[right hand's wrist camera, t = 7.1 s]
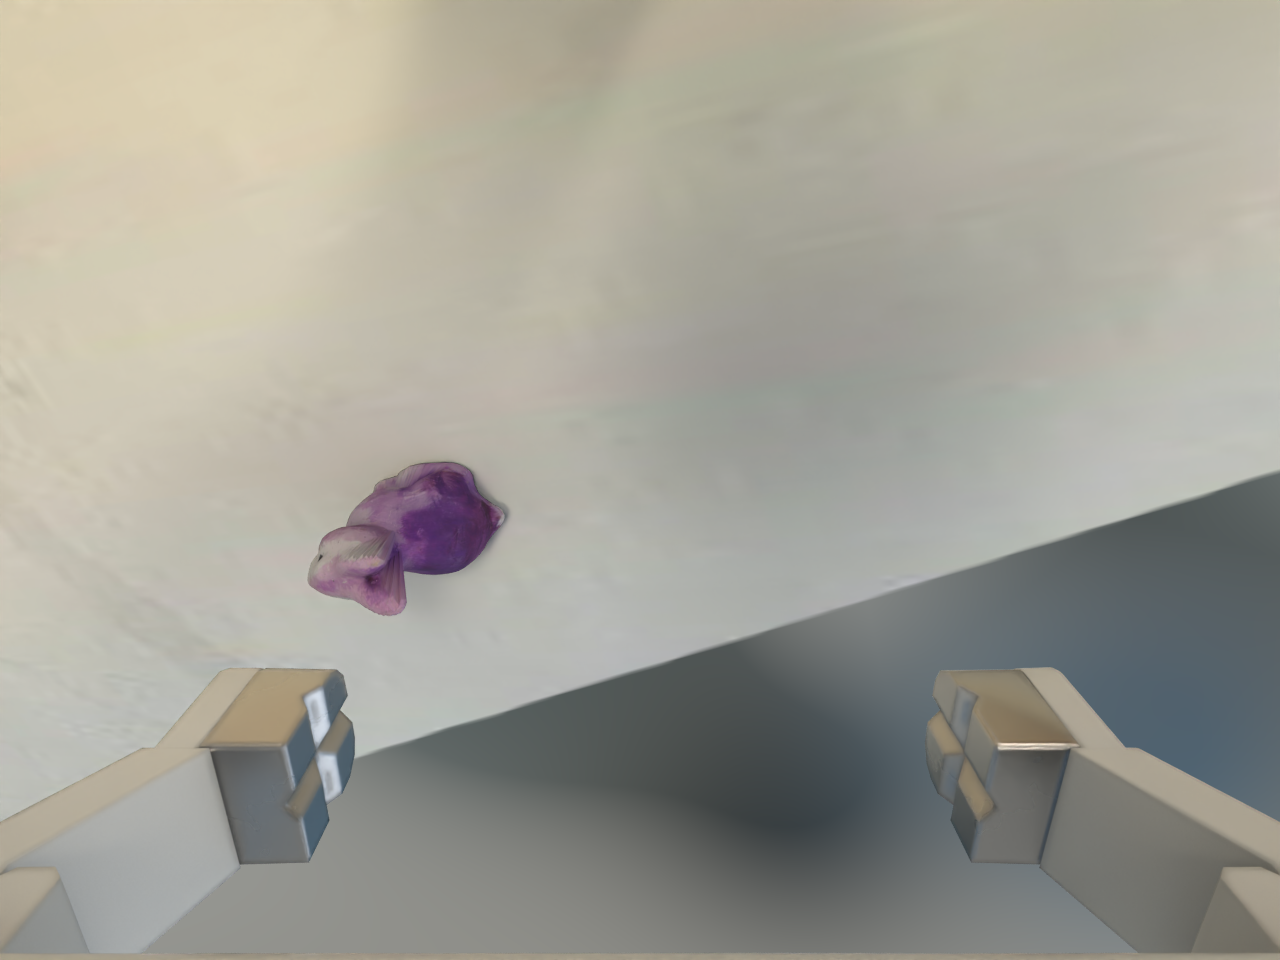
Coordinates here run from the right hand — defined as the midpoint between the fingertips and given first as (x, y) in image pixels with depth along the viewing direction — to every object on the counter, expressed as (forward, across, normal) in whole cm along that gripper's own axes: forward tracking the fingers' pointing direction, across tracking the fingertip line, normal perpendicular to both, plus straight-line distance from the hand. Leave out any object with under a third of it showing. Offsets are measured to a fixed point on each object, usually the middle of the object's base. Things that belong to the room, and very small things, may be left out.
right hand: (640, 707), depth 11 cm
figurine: (+48, +17, +18) cm, 54 cm away
